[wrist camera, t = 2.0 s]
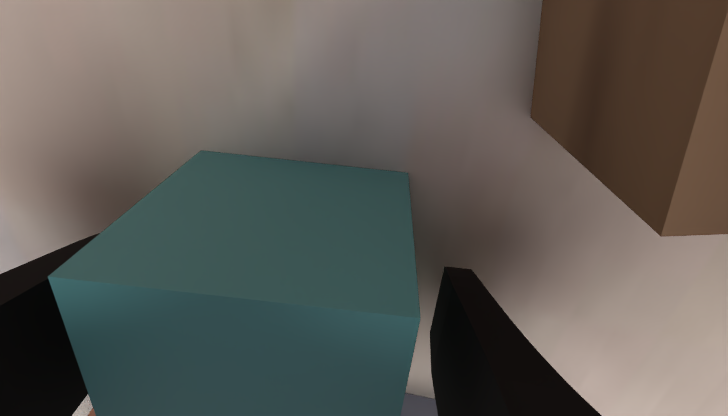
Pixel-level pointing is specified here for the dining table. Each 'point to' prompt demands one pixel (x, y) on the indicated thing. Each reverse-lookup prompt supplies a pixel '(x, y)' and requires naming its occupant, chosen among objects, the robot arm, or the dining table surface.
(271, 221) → the teal block
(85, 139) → the dining table surface
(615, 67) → the walnut block
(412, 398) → the slate-blue block
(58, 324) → the robot arm
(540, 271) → the dining table surface
